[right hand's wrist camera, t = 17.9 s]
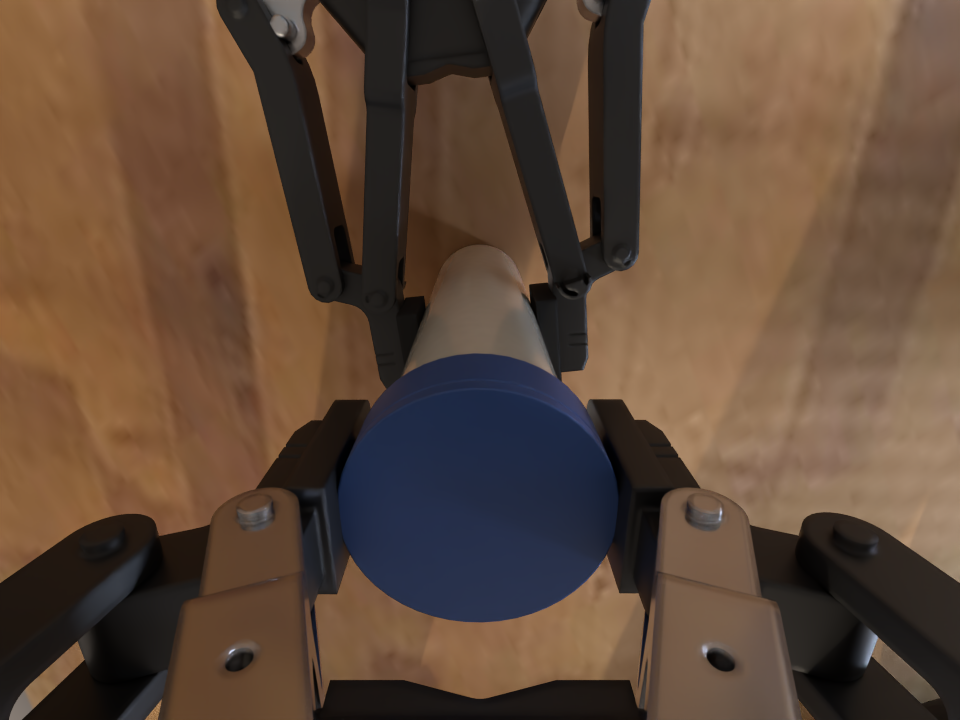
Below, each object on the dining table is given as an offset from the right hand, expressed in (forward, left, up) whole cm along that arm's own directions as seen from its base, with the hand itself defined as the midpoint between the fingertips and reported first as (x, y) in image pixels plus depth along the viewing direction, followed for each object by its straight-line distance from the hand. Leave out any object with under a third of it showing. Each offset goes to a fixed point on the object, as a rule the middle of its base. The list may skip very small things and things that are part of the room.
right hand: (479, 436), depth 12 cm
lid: (0, 0, +3) cm, 3 cm away
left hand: (-5, +1, -9) cm, 10 cm away
